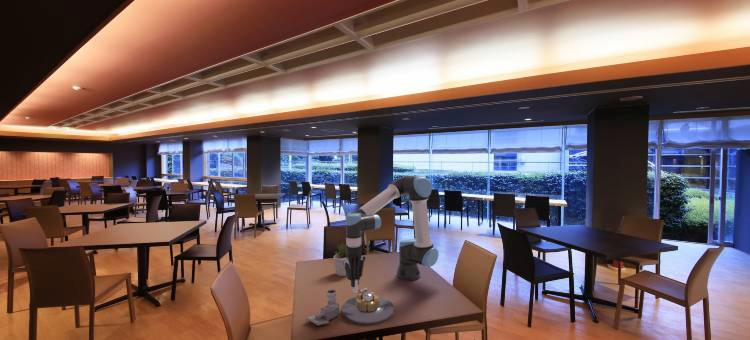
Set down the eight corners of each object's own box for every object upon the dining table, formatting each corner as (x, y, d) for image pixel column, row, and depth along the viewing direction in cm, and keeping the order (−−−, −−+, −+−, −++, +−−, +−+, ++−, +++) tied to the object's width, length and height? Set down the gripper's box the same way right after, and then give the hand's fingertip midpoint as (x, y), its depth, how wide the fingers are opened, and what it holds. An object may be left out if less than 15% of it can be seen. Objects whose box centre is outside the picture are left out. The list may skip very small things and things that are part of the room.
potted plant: (357, 272, 191) (357, 242, 191) (344, 279, 180) (344, 247, 180) (342, 268, 198) (342, 239, 198) (329, 275, 187) (329, 244, 186)
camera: (343, 291, 135) (317, 303, 123) (343, 316, 135) (317, 330, 124) (330, 286, 140) (305, 297, 129) (331, 310, 141) (305, 323, 129)
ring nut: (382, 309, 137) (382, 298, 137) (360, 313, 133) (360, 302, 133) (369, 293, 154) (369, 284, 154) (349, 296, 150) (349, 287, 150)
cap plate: (388, 297, 154) (388, 282, 154) (398, 322, 129) (398, 304, 129) (341, 300, 151) (341, 285, 150) (342, 326, 126) (342, 308, 126)
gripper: (359, 241, 149) (360, 286, 150) (338, 246, 141) (339, 294, 141) (368, 244, 144) (369, 290, 145) (348, 249, 135) (349, 299, 136)
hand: (355, 292), depth 143 cm, fingers closed
